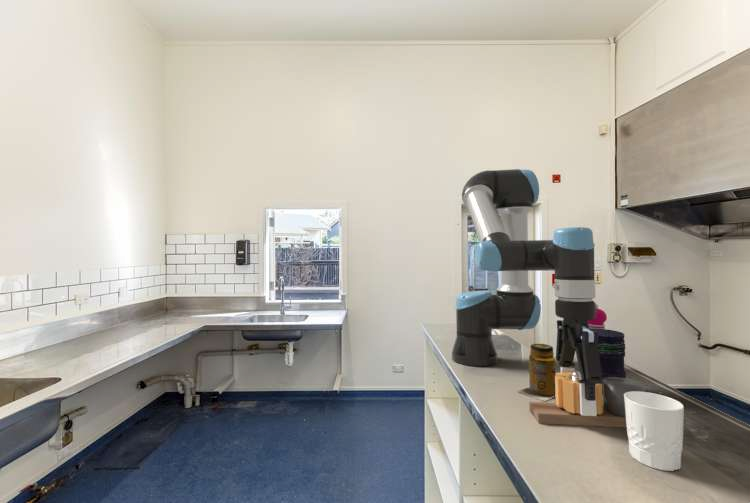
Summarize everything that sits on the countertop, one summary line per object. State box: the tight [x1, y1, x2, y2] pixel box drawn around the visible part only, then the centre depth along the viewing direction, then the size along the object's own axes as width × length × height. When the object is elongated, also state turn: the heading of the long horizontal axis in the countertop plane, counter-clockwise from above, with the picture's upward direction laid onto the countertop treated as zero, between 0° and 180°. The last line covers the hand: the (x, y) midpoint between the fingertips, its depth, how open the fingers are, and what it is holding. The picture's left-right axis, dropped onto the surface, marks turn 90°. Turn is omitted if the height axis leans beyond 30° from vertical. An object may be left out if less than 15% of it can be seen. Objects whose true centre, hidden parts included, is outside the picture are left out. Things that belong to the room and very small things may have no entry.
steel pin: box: [572, 370, 582, 381], centre depth 72 cm, size 2×2×8 cm
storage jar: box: [590, 328, 627, 397], centre depth 88 cm, size 10×10×15 cm
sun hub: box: [602, 377, 645, 418], centre depth 71 cm, size 7×7×6 cm
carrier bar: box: [528, 401, 627, 429], centre depth 72 cm, size 6×22×2 cm, turn 82°
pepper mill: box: [588, 303, 608, 329], centre depth 107 cm, size 7×7×20 cm
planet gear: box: [555, 372, 603, 414], centre depth 72 cm, size 9×9×6 cm
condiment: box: [517, 343, 556, 402], centre depth 87 cm, size 7×8×12 cm
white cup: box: [624, 391, 685, 472], centre depth 57 cm, size 8×8×10 cm
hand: (577, 405), depth 72 cm, fingers closed on planet gear, 8 cm apart
